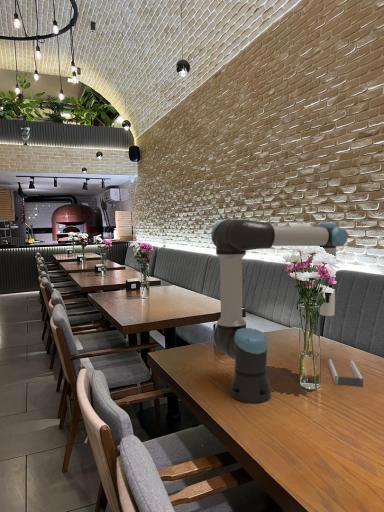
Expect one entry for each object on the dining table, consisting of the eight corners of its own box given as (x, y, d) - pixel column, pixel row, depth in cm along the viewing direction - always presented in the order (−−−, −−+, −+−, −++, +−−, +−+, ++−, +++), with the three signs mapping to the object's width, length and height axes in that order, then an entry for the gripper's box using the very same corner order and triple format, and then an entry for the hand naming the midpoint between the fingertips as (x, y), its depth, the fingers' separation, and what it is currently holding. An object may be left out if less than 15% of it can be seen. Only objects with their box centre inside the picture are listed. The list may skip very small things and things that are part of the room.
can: (336, 316, 168) (337, 289, 167) (321, 316, 168) (322, 289, 167) (331, 313, 174) (332, 287, 173) (317, 313, 174) (317, 287, 173)
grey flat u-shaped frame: (362, 386, 147) (363, 378, 147) (335, 384, 149) (335, 376, 149) (352, 367, 166) (352, 360, 166) (328, 365, 169) (328, 359, 168)
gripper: (339, 259, 160) (337, 313, 162) (333, 255, 178) (331, 304, 180) (320, 258, 161) (319, 312, 163) (316, 255, 179) (315, 303, 181)
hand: (325, 308), depth 171 cm, fingers closed on can, 5 cm apart
